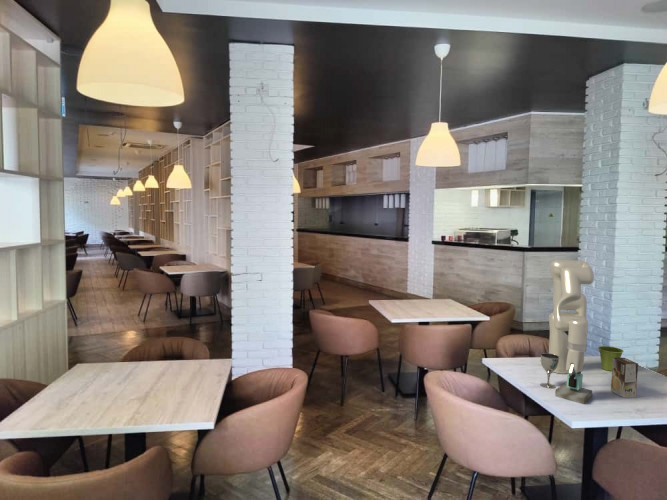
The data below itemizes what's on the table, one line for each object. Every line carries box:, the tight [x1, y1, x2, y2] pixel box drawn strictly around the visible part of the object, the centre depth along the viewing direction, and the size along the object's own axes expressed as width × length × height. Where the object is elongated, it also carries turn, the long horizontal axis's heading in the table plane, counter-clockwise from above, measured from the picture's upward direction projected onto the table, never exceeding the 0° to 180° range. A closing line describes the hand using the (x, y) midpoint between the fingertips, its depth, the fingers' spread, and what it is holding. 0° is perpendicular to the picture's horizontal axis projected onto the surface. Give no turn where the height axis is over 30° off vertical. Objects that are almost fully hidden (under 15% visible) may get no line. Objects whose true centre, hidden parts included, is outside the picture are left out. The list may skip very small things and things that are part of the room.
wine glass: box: [539, 352, 559, 390], centre depth 219 cm, size 8×8×15 cm
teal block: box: [566, 373, 584, 390], centre depth 206 cm, size 5×5×6 cm
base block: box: [554, 382, 593, 405], centre depth 207 cm, size 12×12×3 cm
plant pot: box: [597, 345, 624, 372], centre depth 246 cm, size 12×12×11 cm
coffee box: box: [610, 357, 639, 399], centre depth 211 cm, size 9×6×16 cm
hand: (574, 384), depth 207 cm, fingers closed on teal block, 4 cm apart
